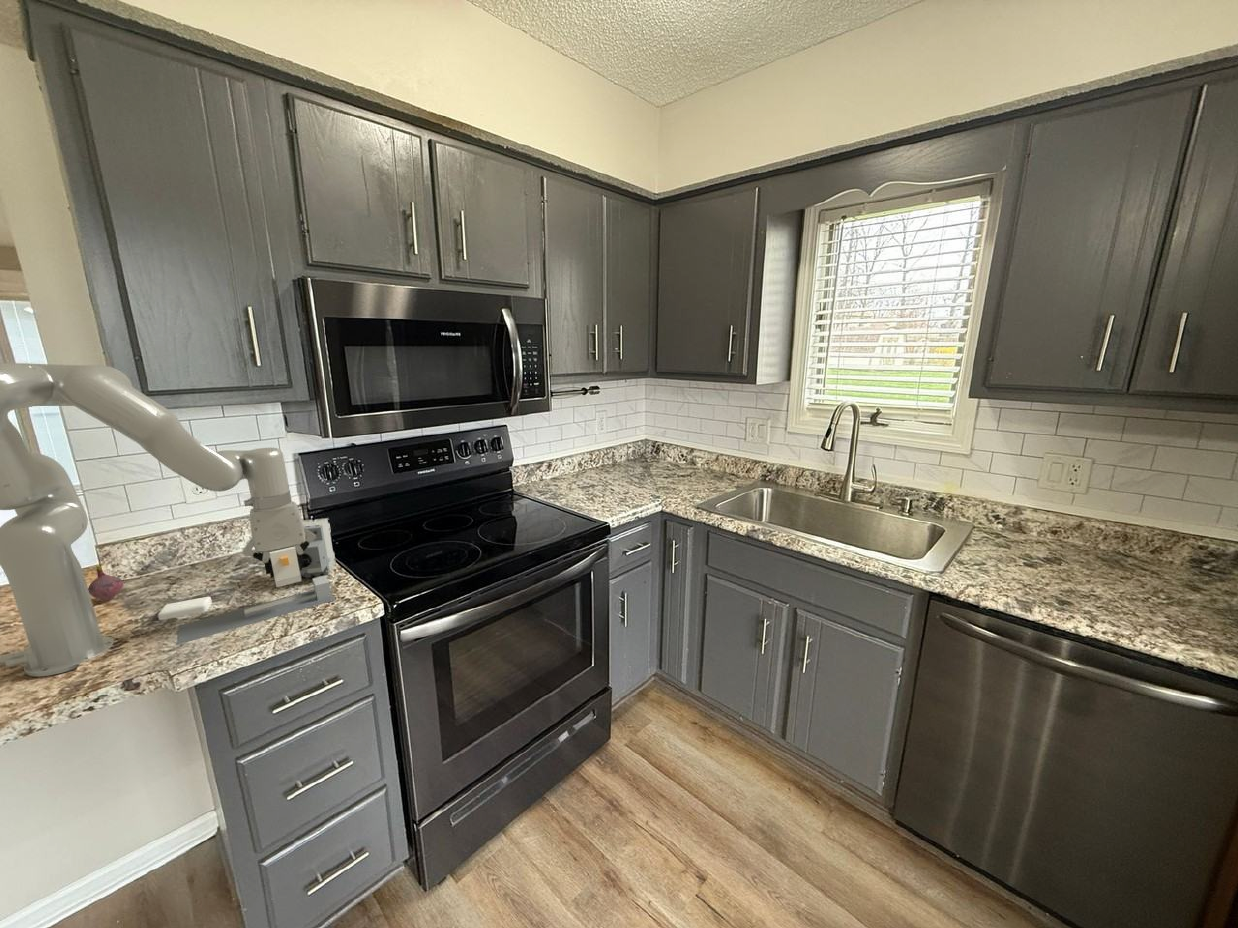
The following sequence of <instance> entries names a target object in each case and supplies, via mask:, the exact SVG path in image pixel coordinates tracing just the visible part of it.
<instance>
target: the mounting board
mask: <svg viewBox="0 0 1238 928" xmlns="http://www.w3.org/2000/svg"><path fill="white" fill-rule="evenodd" d="M330 590H331V588H330ZM312 591H314V589H309V590H307V591H306V590H305V591H303V592H300V593H299V592H298V593H296V594H291V595H288V596H284V597H280V598H276V599H273V600H269V601H265V602H262V603H258V604H254V605H251V606H245V607H243V608H239V609H235V610H231V611H228V612H225V613H220V614H217V615H214V616H212V615H211V616H210V617H206V618H201V619H198V620H193V621H190V622H187V623H183V624H179V625H178V632H177V640H176V646H178V645H182V644H185V643H188V642H192V641H193V642H194V641H196V640H199V639H202V638H205V637H207V638H208V637H211V636H213V635H217V634H219V633H225V632H227V631H230V630H235V629H237V628H242V627H245V626H248V625H253V624H256V623H258V622H259V623H260V622H263V621H267V620H270V619H274V618H276V617H280V616H284V615H288V614H291V613H295V612H298V611H302V610H305V609H310V608H311V607H315V606H318V605H323V604H327V603H330V602H334V601H336V598H335V596H334V593H333V591H332V590H331V596H332V597H329V598H325V599H321V600H317V599H314V600H310V601H306V602H303V603H299V604H295V605H292V606H288V607H285V608H281V609H277V610H274V611H270V612H266V613H263V614H259V615H256V616H252V617H248V618H245V612H244V610H245V609H248V608H252V607H256V606H259V605H263V604H267V603H271V602H274V601H278V600H282V599H286V598H289V597H293V596H297V595H301V594H304V593H308V592H312Z"/></svg>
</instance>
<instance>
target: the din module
mask: <svg viewBox="0 0 1238 928" xmlns="http://www.w3.org/2000/svg"><path fill="white" fill-rule="evenodd" d="M269 553H270V554H269V558H270V559H271V563H272V568H273V573H274V577H273V579H274V583H275V587H276V588H279V587H282V586H283V587H285V586H286V585H287V586H288V585H291V584H296V583H299V582H302V578H301V576H300V570H299V565H298V560H297V554H296V549H295V546H291V547H286V548H282V549H277V550H273V551H269Z"/></svg>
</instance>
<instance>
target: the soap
mask: <svg viewBox="0 0 1238 928" xmlns="http://www.w3.org/2000/svg"><path fill="white" fill-rule="evenodd" d="M212 603H213V601H212V598H211V597H210V596H205V597H200V598H199V597H198V598H192V599H189V600H188V599H187V600H182V601H178V602H172V603H166V604H165V605H164V606H163V607H162V609H161V610H160V612H158V614H157V617H158V620H159V621H165V620H168V619H174V618H175V619H176V618H179V617H184V616H189V615H190V616H191V615H195V614H199V613H200V614H201V613H205V612H207V611H209V608H210V606H211V605H212Z"/></svg>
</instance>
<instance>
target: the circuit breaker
mask: <svg viewBox="0 0 1238 928" xmlns="http://www.w3.org/2000/svg"><path fill="white" fill-rule="evenodd" d="M328 520H330V519H329V517H327V518H318V519H317V518H316V519H314V520H312V519H305V520H302V523H303V527H305V528H306V529H307V530H309V531H310V532H312V533H313V534H315V535H316V538H315V539H314V540H313V541H312V542H311V543H310V544H309V546H308V547H307V548H306V549H305V551H304V552H303V554H302V555H303V561H304V565H303V566H301V567H302V570H301V571H300V576H301V579H302V578H304V577H305V579H306V578H312V577H321V576H322V575H323V576H325V575H326V576H328V575H330V573H331V571H332V569H334V566H335V562H336V557H335V555H336V554H335V551H334V550H333V549H334V548H333V543H332V536H331V532H332V531H331V525H330V522H329V521H328ZM306 538H307V536H306V535H305V540H306ZM300 545H301V544H300Z"/></svg>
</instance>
